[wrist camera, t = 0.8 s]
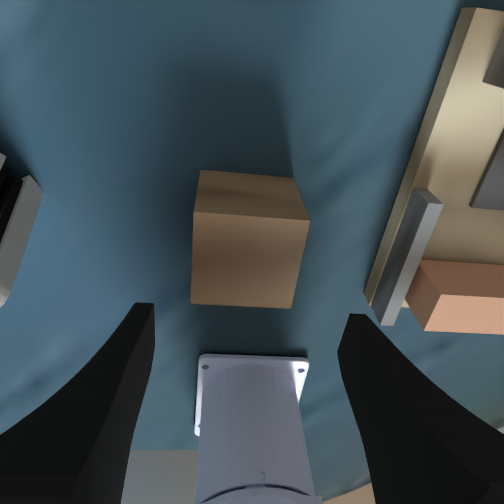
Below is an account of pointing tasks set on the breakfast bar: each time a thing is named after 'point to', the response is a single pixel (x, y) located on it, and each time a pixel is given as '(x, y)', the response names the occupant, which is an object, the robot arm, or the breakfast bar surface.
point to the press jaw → (458, 297)
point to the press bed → (450, 169)
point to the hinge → (15, 224)
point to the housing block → (247, 240)
